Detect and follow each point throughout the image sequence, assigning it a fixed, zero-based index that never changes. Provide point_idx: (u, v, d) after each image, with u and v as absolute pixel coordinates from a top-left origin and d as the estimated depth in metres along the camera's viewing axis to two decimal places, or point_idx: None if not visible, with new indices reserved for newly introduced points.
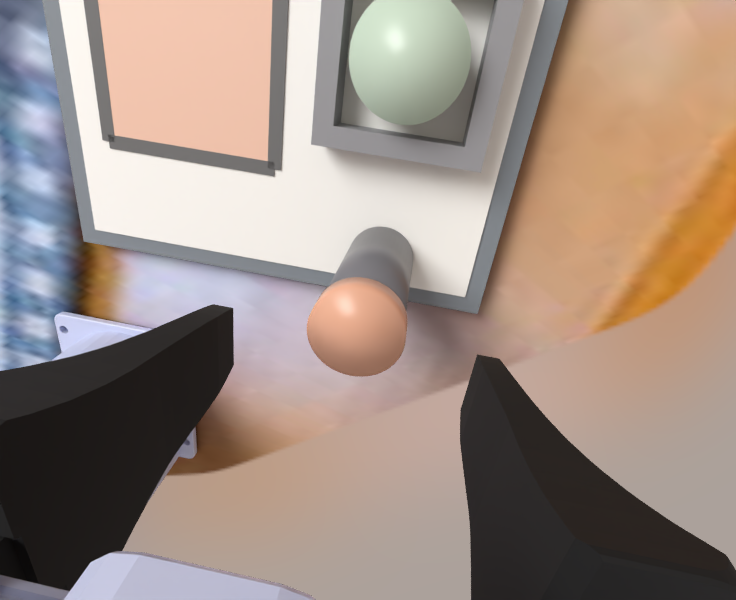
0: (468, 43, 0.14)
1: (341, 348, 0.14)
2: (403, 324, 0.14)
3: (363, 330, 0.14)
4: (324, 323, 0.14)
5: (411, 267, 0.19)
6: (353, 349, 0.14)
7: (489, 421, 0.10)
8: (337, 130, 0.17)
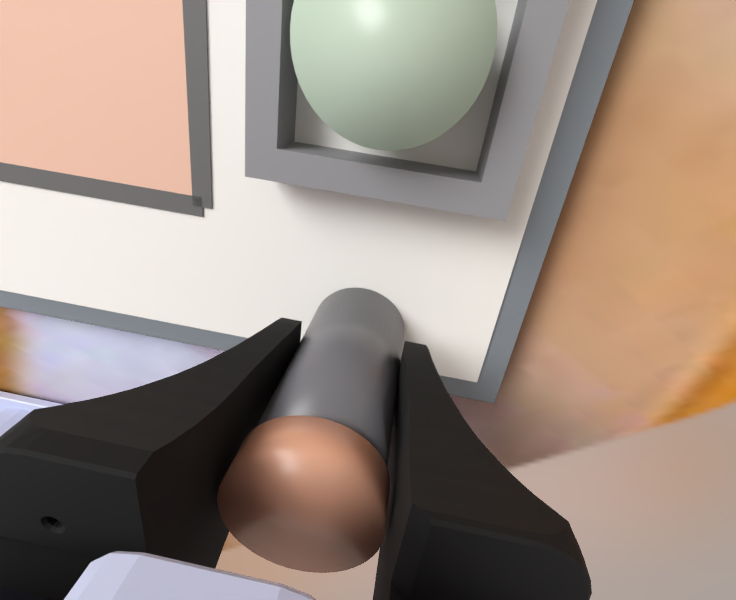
0: (492, 13, 0.08)
1: (278, 534, 0.08)
2: (381, 507, 0.08)
3: (312, 513, 0.08)
4: (245, 499, 0.08)
5: (400, 351, 0.13)
6: (298, 537, 0.08)
7: (402, 404, 0.10)
8: (283, 155, 0.11)
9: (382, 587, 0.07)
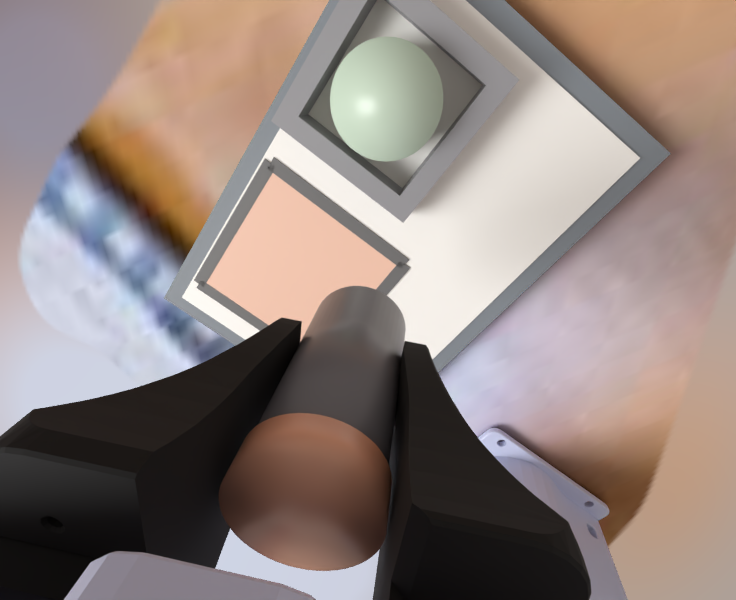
0: (401, 41, 0.14)
1: (279, 532, 0.08)
2: (383, 505, 0.08)
3: (314, 510, 0.08)
4: (247, 497, 0.08)
5: (402, 349, 0.13)
6: (300, 535, 0.08)
7: (402, 404, 0.10)
8: (405, 194, 0.18)
9: (382, 587, 0.07)
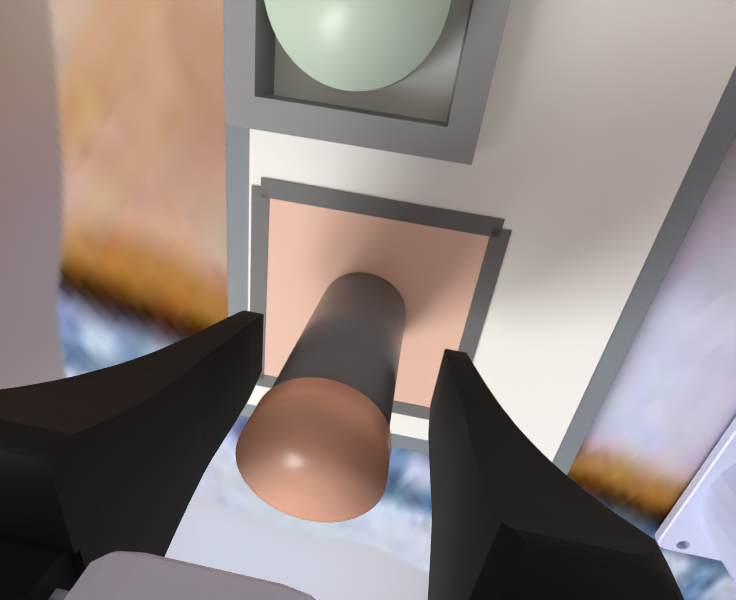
0: None
1: (290, 485, 0.09)
2: (383, 457, 0.09)
3: (321, 463, 0.09)
4: (261, 451, 0.09)
5: (402, 331, 0.14)
6: (308, 488, 0.09)
7: (450, 413, 0.10)
8: (454, 120, 0.11)
9: None
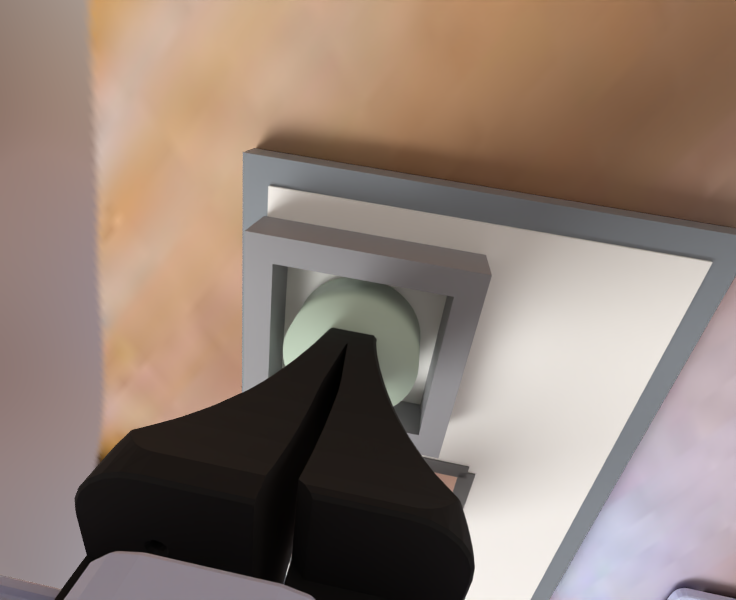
0: (332, 302, 0.12)
1: None
2: None
3: None
4: None
5: None
6: None
7: None
8: (424, 432, 0.14)
9: None
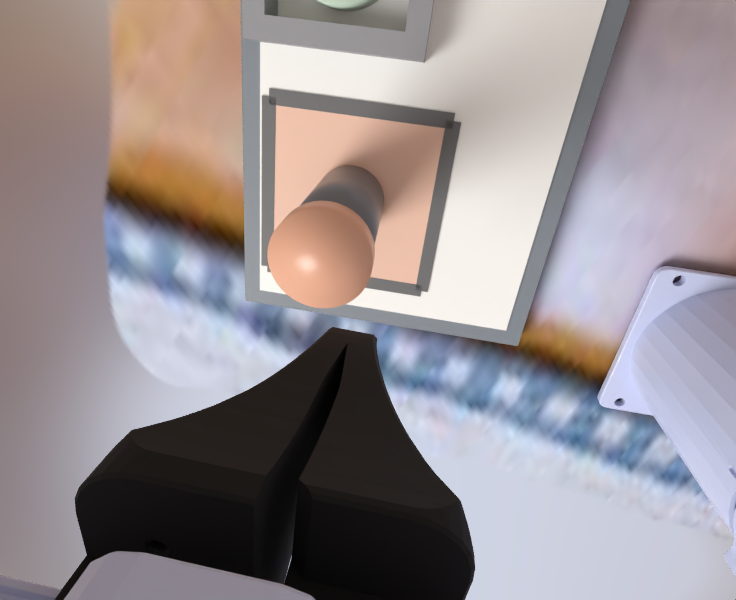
0: None
1: (304, 276, 0.13)
2: (370, 251, 0.13)
3: (328, 256, 0.13)
4: (286, 247, 0.13)
5: (381, 208, 0.18)
6: (317, 278, 0.13)
7: None
8: (409, 25, 0.15)
9: None
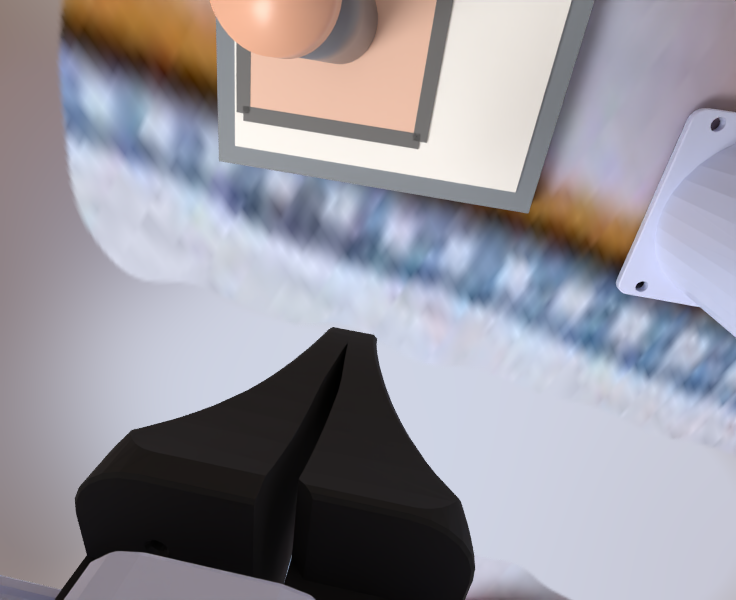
0: None
1: (248, 3, 0.11)
2: None
3: None
4: None
5: (370, 13, 0.15)
6: (264, 7, 0.11)
7: None
8: None
9: None
